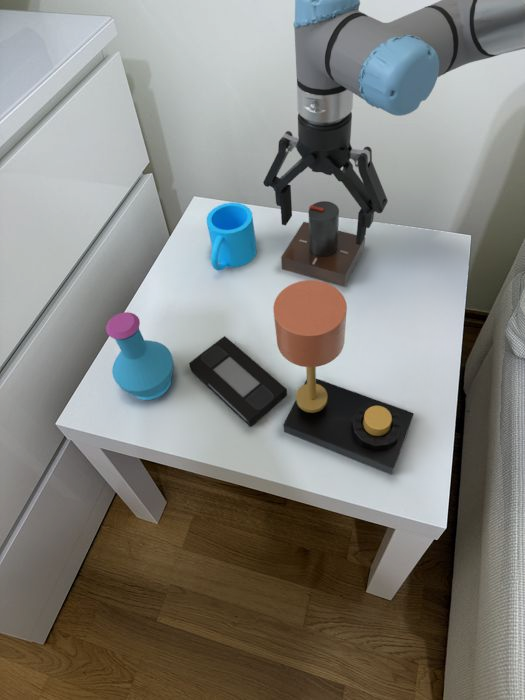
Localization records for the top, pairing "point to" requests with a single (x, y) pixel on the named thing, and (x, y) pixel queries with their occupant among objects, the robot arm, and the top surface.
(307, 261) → the dimmer panel
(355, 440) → the lamp base
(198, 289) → the top surface
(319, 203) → the dimmer
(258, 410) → the vhs tape
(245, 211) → the mug
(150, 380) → the perfume bottle
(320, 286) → the lamp
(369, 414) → the switch
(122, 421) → the top surface
